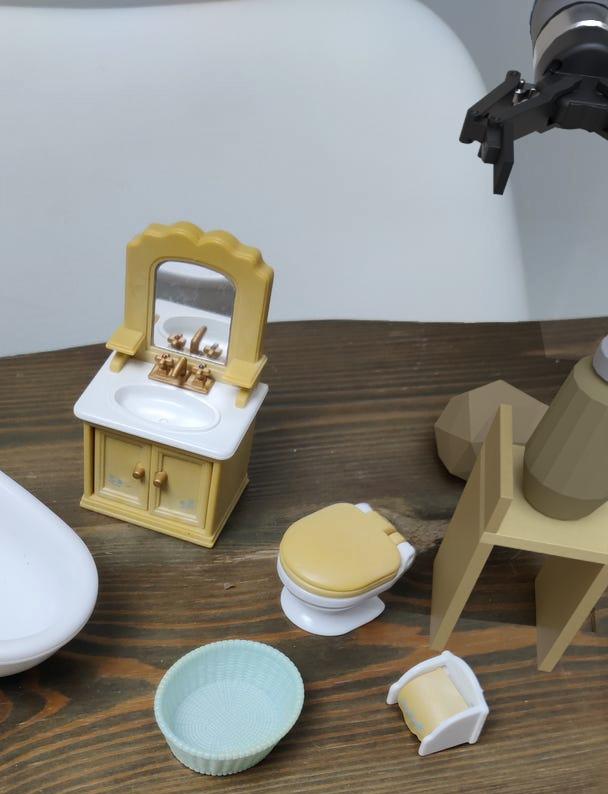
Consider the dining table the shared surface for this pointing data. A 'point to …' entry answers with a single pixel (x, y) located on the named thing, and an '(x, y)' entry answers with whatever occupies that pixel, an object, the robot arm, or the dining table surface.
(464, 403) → the low-poly potato
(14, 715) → the dining table surface
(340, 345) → the dining table surface
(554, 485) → the squeeze bottle
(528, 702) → the dining table surface
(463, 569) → the tan chair
